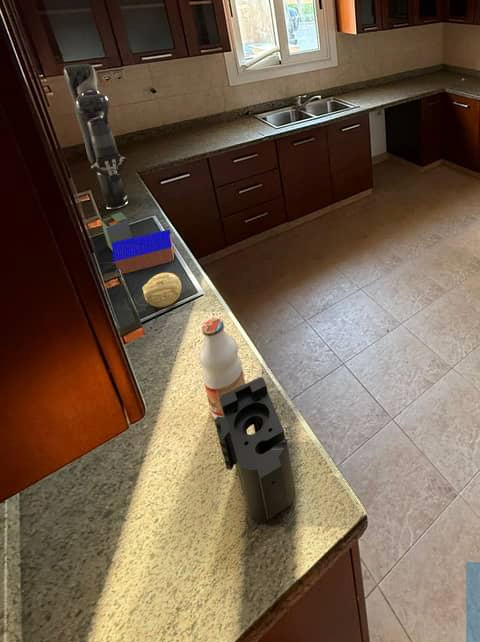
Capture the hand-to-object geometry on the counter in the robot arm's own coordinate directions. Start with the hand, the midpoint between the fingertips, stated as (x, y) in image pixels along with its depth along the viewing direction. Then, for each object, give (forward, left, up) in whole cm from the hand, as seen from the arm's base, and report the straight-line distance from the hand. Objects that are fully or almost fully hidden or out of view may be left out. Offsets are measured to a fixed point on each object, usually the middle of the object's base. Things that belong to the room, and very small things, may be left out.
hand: (114, 182), depth 178 cm
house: (+20, 0, -29) cm, 35 cm away
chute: (0, -4, -29) cm, 29 cm away
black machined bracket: (+131, -13, -29) cm, 135 cm away
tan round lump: (+51, -4, -29) cm, 59 cm away
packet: (0, -4, -28) cm, 29 cm away
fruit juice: (+107, -8, -29) cm, 111 cm away
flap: (0, -2, -16) cm, 16 cm away
